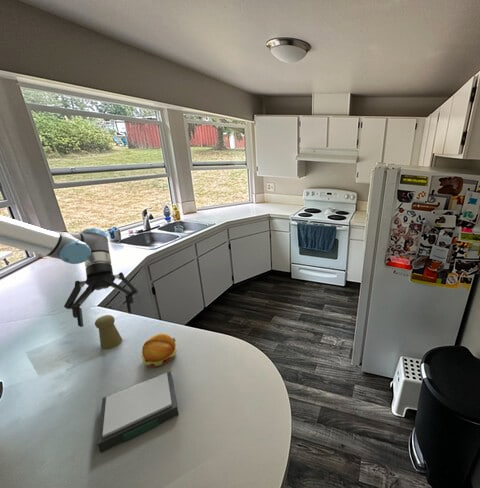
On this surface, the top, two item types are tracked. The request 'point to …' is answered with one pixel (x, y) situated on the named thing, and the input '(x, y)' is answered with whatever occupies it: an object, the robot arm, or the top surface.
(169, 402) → the kitchen scale
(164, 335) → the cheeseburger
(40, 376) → the top surface
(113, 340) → the cork
